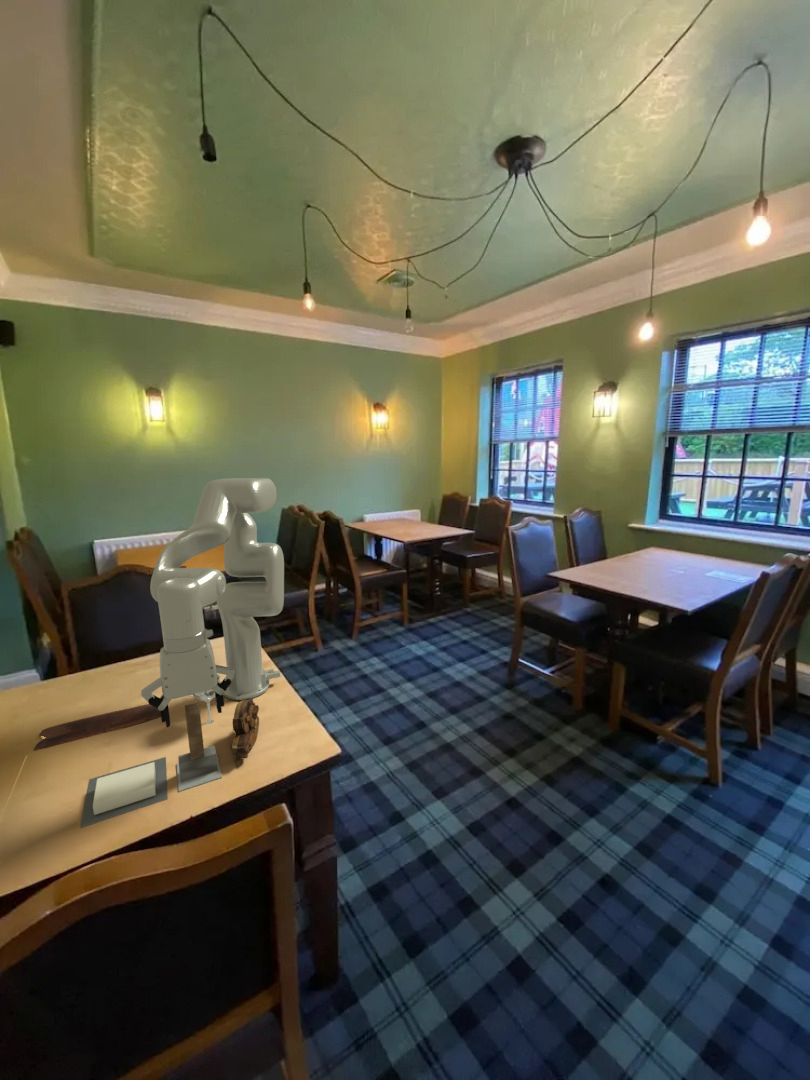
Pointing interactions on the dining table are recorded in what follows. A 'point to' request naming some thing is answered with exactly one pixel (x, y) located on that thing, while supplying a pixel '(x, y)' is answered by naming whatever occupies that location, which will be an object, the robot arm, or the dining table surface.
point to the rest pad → (198, 778)
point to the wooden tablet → (96, 725)
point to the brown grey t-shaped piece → (196, 748)
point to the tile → (124, 788)
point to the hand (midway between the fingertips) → (194, 716)
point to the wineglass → (207, 699)
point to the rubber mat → (160, 796)
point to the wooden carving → (245, 727)
